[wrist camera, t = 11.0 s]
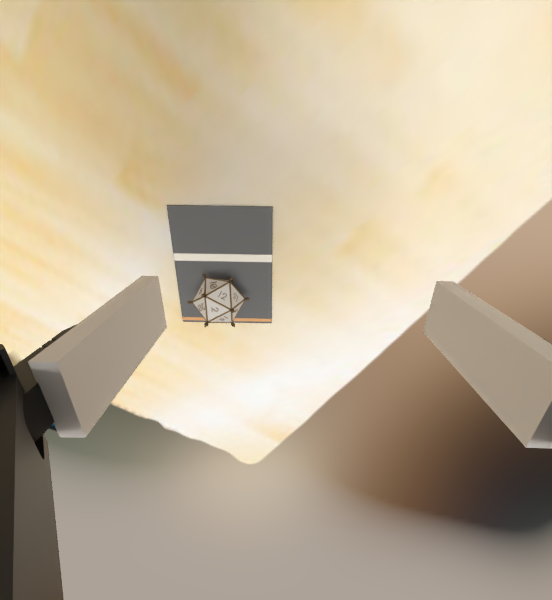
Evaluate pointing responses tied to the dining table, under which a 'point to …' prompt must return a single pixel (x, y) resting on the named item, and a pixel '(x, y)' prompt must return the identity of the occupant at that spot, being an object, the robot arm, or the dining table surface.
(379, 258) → the dining table surface
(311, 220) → the dining table surface
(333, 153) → the dining table surface
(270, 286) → the lane mat
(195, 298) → the game die
